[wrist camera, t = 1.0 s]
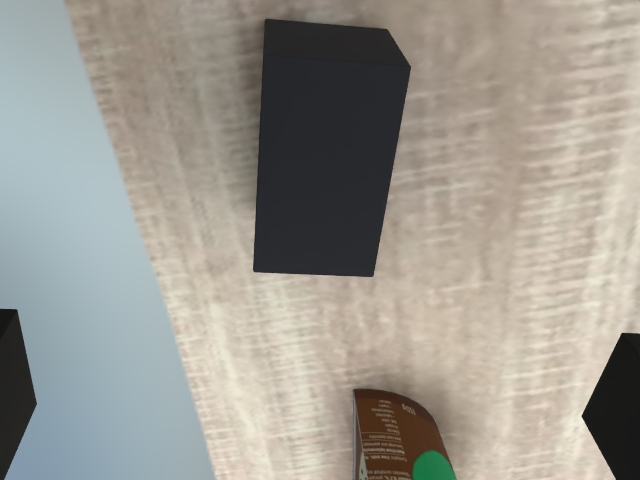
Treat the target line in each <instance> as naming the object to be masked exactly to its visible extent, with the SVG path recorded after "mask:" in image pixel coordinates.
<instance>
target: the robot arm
mask: <svg viewBox="0 0 640 480" xmlns="http://www.w3.org/2000/svg"><path fill="white" fill-rule="evenodd" d="M36 405H37V402H36V398H35V393H34V388H33V384H32V379H31V374H30V369H29V364H28V359H27V355H26V350H25V345H24V340H23V335H22V331H21V326H20V321H19V316H18V311H17V310H16V309H0V480H4V479H5V476H6V474H7V472H8V469H9V467H10V465H11V462H12V460H13V458H14V456H15V453H16V451H17V449H18V446H19V444H20V442H21V439H22V437H23V435H24V432H25V430H26V428H27V425H28V423H29V421H30V418H31V416H32V414H33V411H34V409H35V407H36ZM582 418H583V420H584V422H585V424H586V425H587V427H588V429H589V431H590V433H591V435H592V436H593V438H594V440H595V442H596V444H597V445H598V447H599V449H600V451H601V453H602V455H603V456H604V458H605V460H606V462H607V464H608V466H609V467H610V469H611V471H612V473H613V475H614V477H615V478H616V480H640V334H638V333H622V334H621V336H620V338H619V340H618V342H617V344H616V346H615V348H614V350H613V352H612V354H611V356H610V358H609V360H608V363H607V365H606V367H605V369H604V371H603V373H602V375H601V377H600V379H599V381H598V383H597V385H596V387H595V389H594V391H593V394H592V396H591V398H590V400H589V402H588V404H587V406H586V408H585V410H584V412H583V414H582Z"/></svg>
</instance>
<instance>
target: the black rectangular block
mask: <svg viewBox="0 0 640 480" xmlns="http://www.w3.org/2000/svg"><path fill="white" fill-rule="evenodd" d="M410 70H411V66H410V65H409V63H408V61H407V60H406V58H405V57H404V55H403V53H402V52H401V50H400V49H399V47H398V45H397V44H396V42H395V41H394V39H393V37H392V36H391V34H390V33H389V31H388V30H387V29H377V28H365V27H354V26H342V25H330V24H319V23H307V22H295V21H283V20H272V19H266V20H265V28H264V48H263V69H262V91H261V112H260V134H259V155H258V177H257V198H256V220H255V242H254V263H253V271H254V272H261V273H286V274H310V275H335V276H359V277H373V275H374V270H375V264H376V259H377V253H378V248H379V242H380V237H381V231H382V226H383V220H384V214H385V209H386V203H387V198H388V192H389V187H390V181H391V175H392V170H393V164H394V159H395V153H396V148H397V142H398V137H399V131H400V125H401V120H402V114H403V109H404V103H405V98H406V92H407V87H408V81H409V75H410Z"/></svg>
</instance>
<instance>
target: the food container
mask: <svg viewBox="0 0 640 480" xmlns="http://www.w3.org/2000/svg"><path fill="white" fill-rule="evenodd" d="M353 480H457V479H456V476H455V473H454V471H453V468H452V465H451V463H450V460H449V457H448V455H447V452H446V449H445V447H444V444H443V441H442V439H441V436H440V433H439V431H438V428H437V425H436V423H435V421H434V420H433V418H432V416H431V415H430V414H429V413H428V412H427V410H426V409H424V408H423V407H422V406H420V405H419V404H418V403H416V402H414V401H412V400H411V399H409V398H407V397H404V396H401V395H398V394H395V393H390V392H386V391H379V390H353Z"/></svg>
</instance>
